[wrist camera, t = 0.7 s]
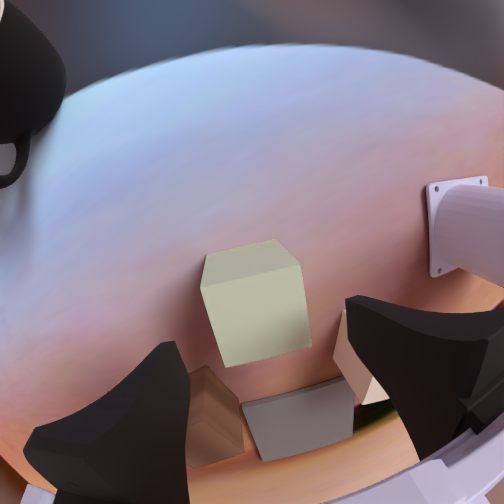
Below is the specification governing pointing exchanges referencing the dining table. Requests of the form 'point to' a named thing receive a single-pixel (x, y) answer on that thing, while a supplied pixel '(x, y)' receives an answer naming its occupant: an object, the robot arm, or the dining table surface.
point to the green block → (255, 302)
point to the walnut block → (212, 421)
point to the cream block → (356, 369)
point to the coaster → (301, 419)
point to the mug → (26, 84)
